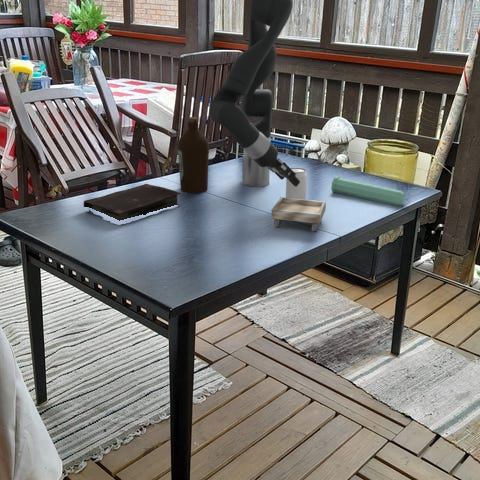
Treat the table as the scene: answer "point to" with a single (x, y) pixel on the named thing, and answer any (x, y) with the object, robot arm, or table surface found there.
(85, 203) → the diary
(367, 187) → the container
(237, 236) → the table surface
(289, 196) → the can
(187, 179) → the olive oil
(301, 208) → the shallow wooden tray
